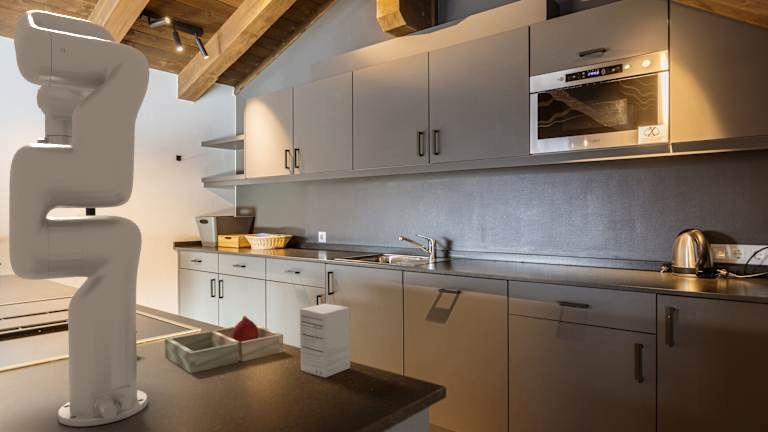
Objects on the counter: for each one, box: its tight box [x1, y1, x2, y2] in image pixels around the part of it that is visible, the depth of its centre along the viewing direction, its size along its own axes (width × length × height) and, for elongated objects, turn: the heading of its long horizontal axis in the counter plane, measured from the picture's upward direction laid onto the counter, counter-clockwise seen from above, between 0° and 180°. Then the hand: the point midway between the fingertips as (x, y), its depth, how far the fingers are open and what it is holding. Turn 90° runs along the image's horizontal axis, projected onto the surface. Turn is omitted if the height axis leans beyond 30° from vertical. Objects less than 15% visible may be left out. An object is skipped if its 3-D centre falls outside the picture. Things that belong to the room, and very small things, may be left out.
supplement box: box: [299, 303, 351, 379], centre depth 98 cm, size 7×7×13 cm
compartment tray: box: [164, 324, 284, 374], centre depth 109 cm, size 15×21×4 cm
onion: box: [233, 315, 259, 342], centre depth 112 cm, size 6×6×8 cm
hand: (66, 220), depth 111 cm, fingers open, 9 cm apart
